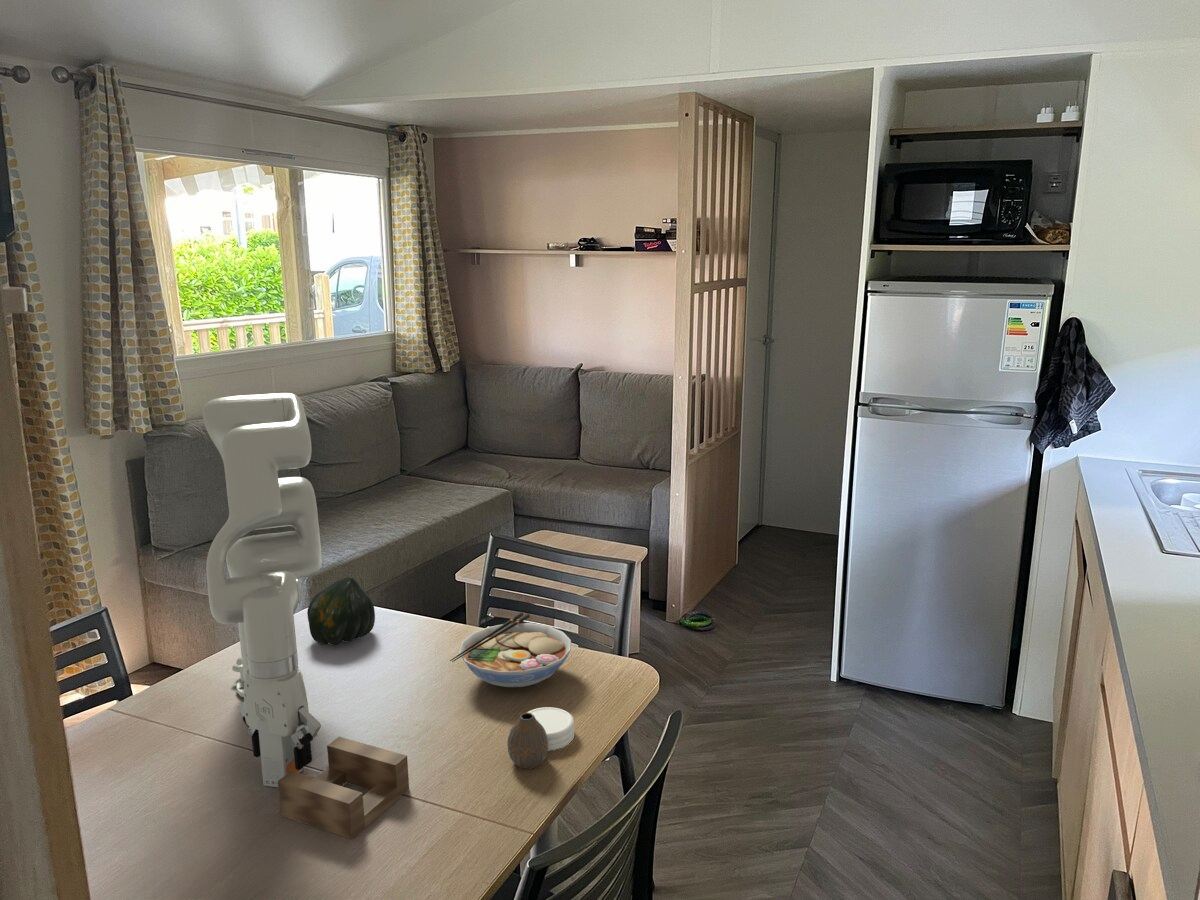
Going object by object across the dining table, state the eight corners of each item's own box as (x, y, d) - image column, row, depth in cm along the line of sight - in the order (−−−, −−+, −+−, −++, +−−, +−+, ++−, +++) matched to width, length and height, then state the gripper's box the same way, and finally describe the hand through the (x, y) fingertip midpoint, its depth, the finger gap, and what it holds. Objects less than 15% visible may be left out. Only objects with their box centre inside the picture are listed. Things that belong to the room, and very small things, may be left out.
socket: (281, 815, 139) (277, 781, 138) (341, 768, 152) (339, 736, 150) (352, 839, 133) (349, 803, 132) (409, 788, 146) (407, 755, 144)
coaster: (579, 725, 165) (579, 708, 164) (568, 755, 155) (568, 737, 155) (526, 721, 167) (526, 703, 166) (512, 750, 157) (512, 732, 156)
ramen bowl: (525, 721, 166) (523, 681, 164) (432, 690, 178) (430, 652, 176) (596, 668, 187) (596, 631, 185) (509, 643, 198) (508, 609, 197)
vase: (554, 755, 155) (553, 709, 153) (539, 777, 149) (537, 729, 147) (518, 748, 157) (516, 703, 155) (501, 769, 151) (499, 722, 149)
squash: (283, 622, 197) (317, 579, 192) (325, 599, 211) (359, 559, 206) (325, 669, 196) (361, 627, 190) (365, 643, 209) (400, 604, 204)
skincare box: (286, 789, 146) (280, 723, 143) (262, 786, 147) (255, 720, 144) (305, 768, 152) (299, 704, 149) (282, 765, 152) (276, 702, 150)
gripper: (215, 662, 145) (226, 758, 149) (297, 683, 137) (307, 783, 141) (251, 644, 151) (260, 736, 155) (331, 663, 144) (339, 759, 148)
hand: (282, 758), depth 148 cm, fingers open, 8 cm apart
